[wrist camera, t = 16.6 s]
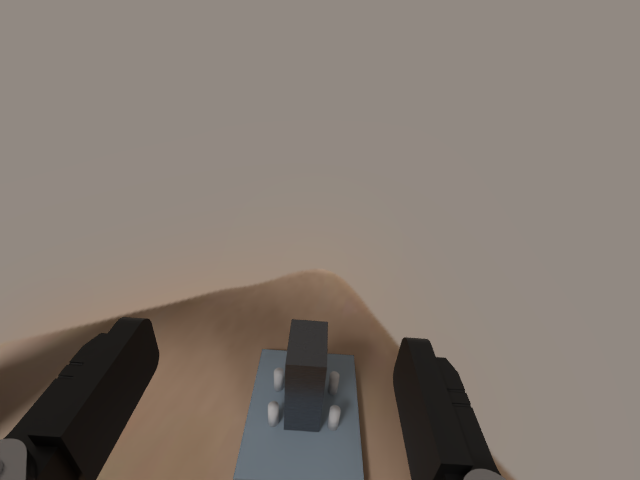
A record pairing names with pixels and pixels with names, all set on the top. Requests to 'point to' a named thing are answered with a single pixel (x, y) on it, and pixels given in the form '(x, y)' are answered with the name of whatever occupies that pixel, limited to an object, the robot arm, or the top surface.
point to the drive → (305, 375)
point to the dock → (301, 446)
